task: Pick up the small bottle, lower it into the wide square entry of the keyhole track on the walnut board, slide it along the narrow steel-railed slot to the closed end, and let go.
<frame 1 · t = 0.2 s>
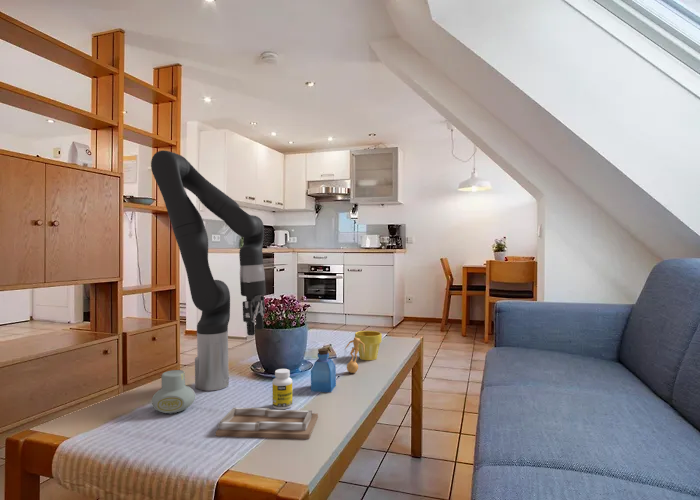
hand: (255, 332, 132), 17 cm above the table, tool pointing down, fingers open, 8 cm apart
supplement bottle: (282, 407, 117), on the table
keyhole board: (269, 426, 104), on the table
perfume bottle: (323, 389, 131), on the table
plant pot: (368, 358, 165), on the table
air freshener: (174, 410, 116), on the table
figurine: (354, 372, 148), on the table
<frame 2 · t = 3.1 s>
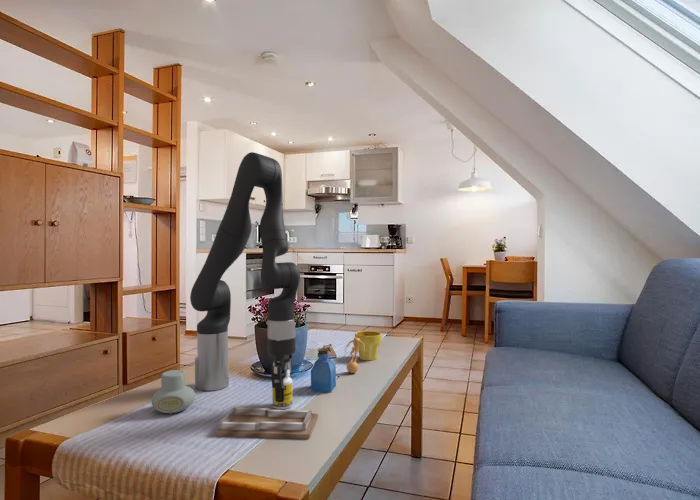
hand: (282, 397, 117), 3 cm above the table, tool pointing down, fingers closed on supplement bottle, 5 cm apart
supplement bottle: (282, 406, 117), on the table, touching gripper
everything else where it was.
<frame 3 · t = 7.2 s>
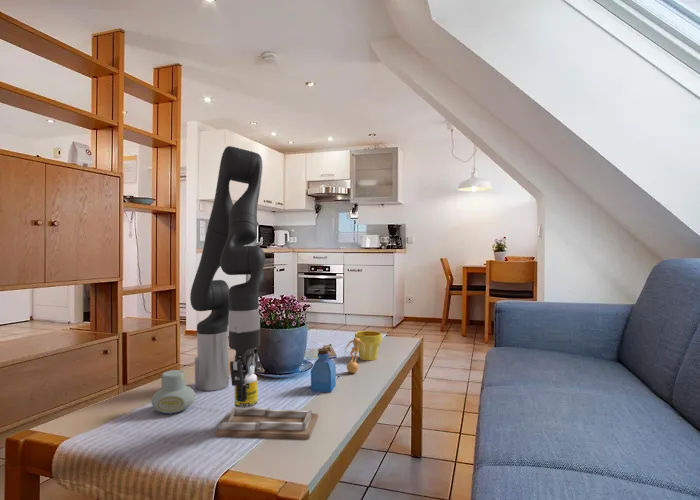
hand: (245, 396, 105), 7 cm above the table, tool pointing down, fingers closed on supplement bottle, 5 cm apart
supplement bottle: (246, 407, 105), point 4 cm above the table, touching gripper
everything else where it was.
when the fingers open (4 cm above the table, at t = 11.7 s): supplement bottle stays where it is, resting on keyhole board.
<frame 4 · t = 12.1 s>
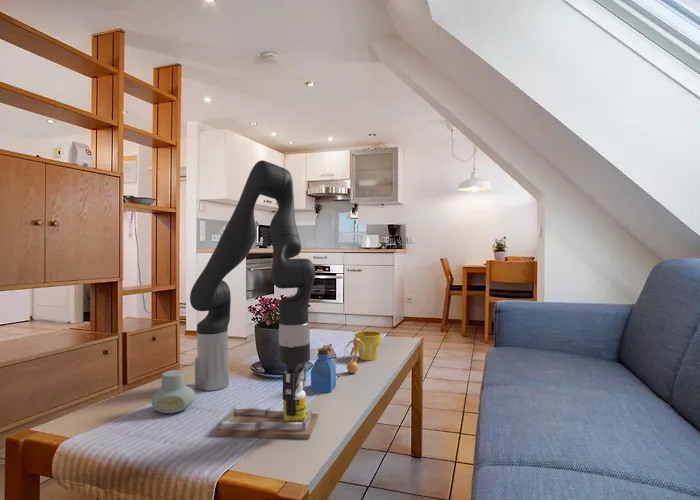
hand: (295, 408, 104), 5 cm above the table, tool pointing down, fingers open, 8 cm apart
supplement bottle: (294, 423, 104), point 1 cm above the table, touching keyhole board
everything else where it was.
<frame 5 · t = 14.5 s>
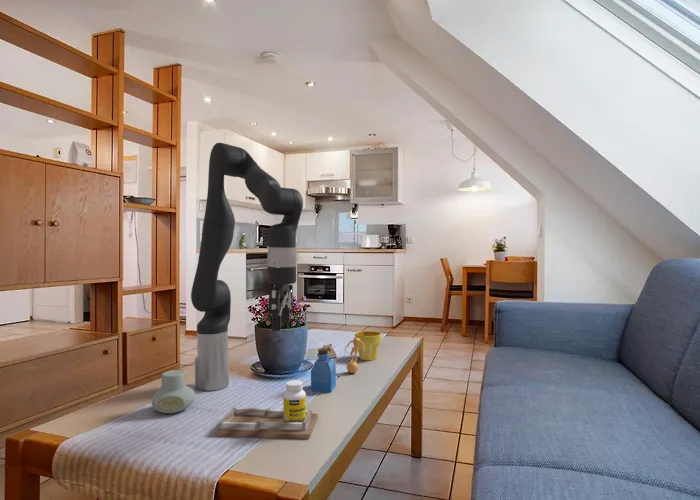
hand: (280, 327, 112), 23 cm above the table, tool pointing down, fingers open, 8 cm apart
nothing on the table moved.
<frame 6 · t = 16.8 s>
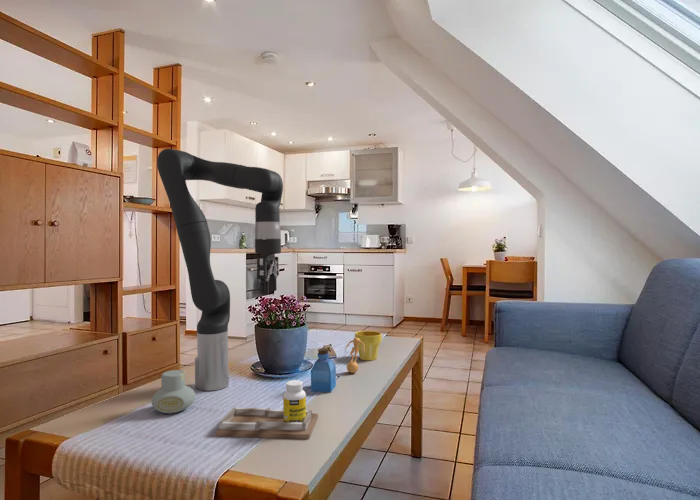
hand: (268, 292, 126), 30 cm above the table, tool pointing down, fingers open, 8 cm apart
nothing on the table moved.
at the end: supplement bottle 0.2 cm from the target spot on the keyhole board, point 0.8 cm above the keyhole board's base; supplement bottle tilted 0°; the gripper is holding nothing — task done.
